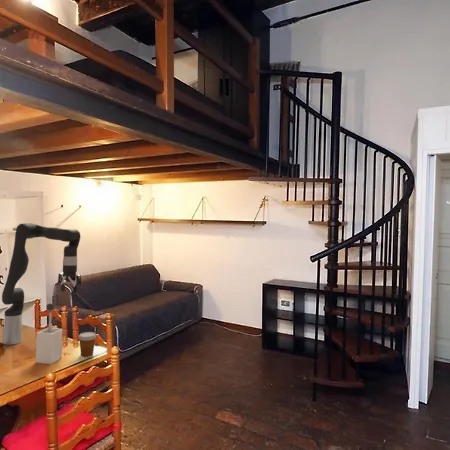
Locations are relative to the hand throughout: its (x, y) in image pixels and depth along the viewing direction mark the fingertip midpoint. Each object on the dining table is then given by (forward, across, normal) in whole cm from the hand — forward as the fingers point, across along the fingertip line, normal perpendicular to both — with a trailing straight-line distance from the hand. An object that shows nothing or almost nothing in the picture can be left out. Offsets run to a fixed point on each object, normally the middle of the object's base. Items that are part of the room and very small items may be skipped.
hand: (69, 292), depth 204 cm
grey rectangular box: (+35, -2, -10) cm, 37 cm away
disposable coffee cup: (+35, +12, +2) cm, 37 cm away
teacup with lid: (+36, -18, +6) cm, 40 cm away
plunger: (+21, -2, -12) cm, 24 cm away
